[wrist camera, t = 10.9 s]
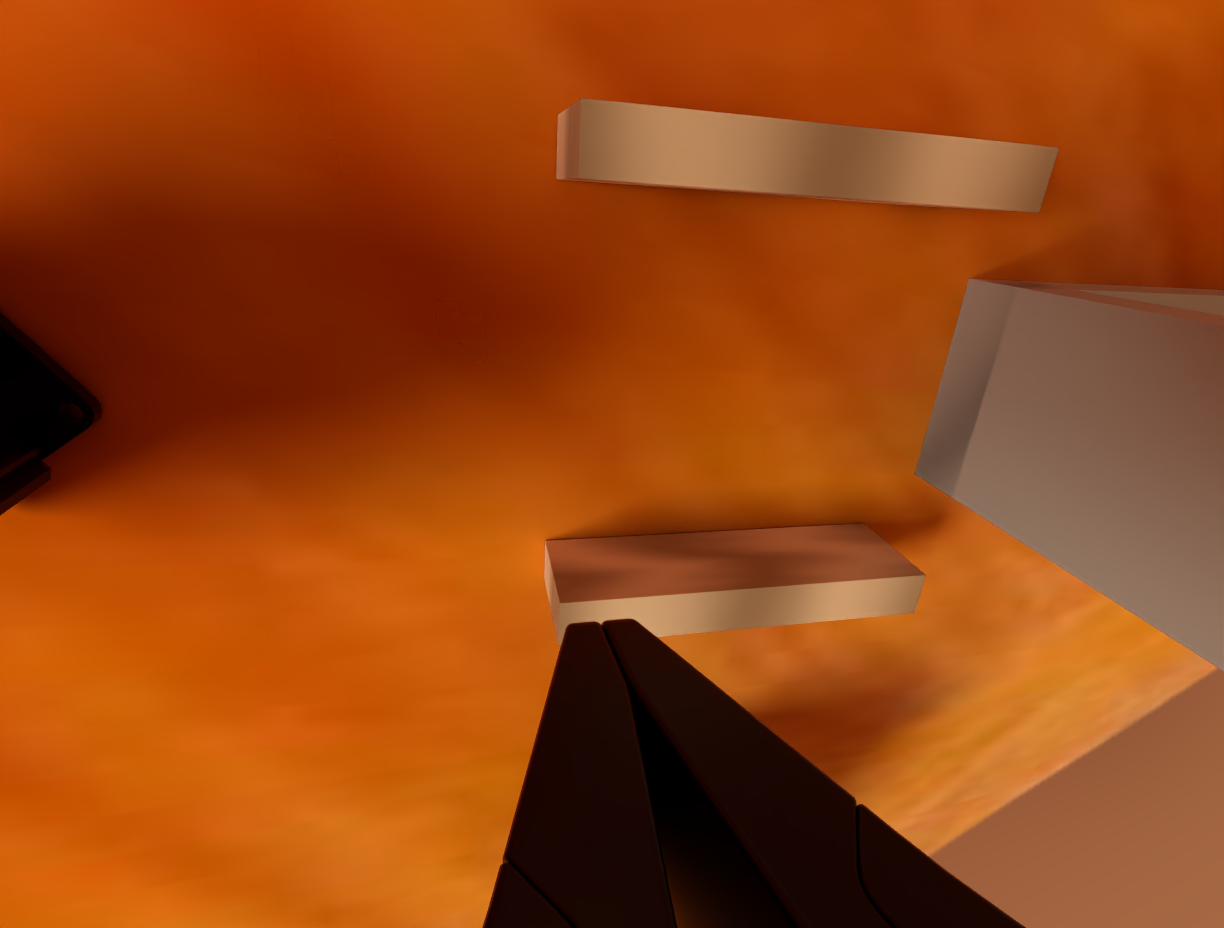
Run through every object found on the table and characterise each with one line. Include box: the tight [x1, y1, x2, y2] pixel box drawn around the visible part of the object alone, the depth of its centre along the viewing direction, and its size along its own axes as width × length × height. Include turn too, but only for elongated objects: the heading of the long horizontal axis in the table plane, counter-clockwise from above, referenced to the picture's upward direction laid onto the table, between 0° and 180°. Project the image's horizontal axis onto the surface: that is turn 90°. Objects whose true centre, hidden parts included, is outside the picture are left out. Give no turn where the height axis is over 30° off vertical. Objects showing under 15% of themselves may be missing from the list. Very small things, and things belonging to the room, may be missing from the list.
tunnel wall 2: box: [556, 98, 1059, 213], centre depth 16 cm, size 12×2×4 cm, turn 86°
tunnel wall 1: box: [544, 523, 926, 646], centre depth 21 cm, size 12×2×4 cm, turn 86°
